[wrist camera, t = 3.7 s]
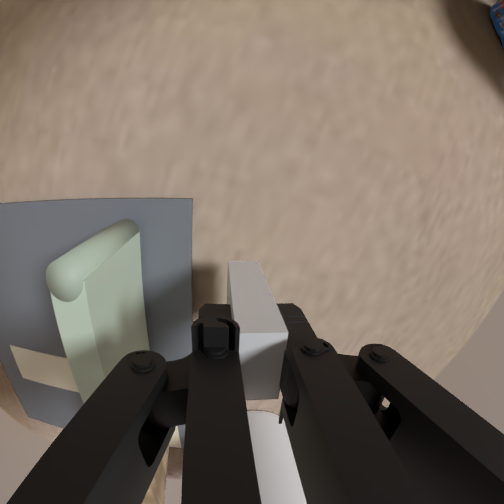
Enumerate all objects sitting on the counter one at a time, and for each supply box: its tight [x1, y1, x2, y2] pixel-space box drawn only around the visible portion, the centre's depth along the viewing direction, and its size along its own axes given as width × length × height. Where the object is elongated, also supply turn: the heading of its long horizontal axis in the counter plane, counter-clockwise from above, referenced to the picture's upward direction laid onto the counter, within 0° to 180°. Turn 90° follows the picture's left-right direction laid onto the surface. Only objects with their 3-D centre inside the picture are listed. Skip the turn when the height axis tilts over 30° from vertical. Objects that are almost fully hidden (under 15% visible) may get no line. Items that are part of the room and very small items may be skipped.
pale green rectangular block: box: [46, 219, 150, 403], centre depth 12 cm, size 13×2×7 cm, turn 176°
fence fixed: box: [142, 444, 170, 504], centre depth 15 cm, size 7×2×8 cm, turn 176°
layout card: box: [0, 198, 193, 449], centre depth 17 cm, size 21×18×1 cm
